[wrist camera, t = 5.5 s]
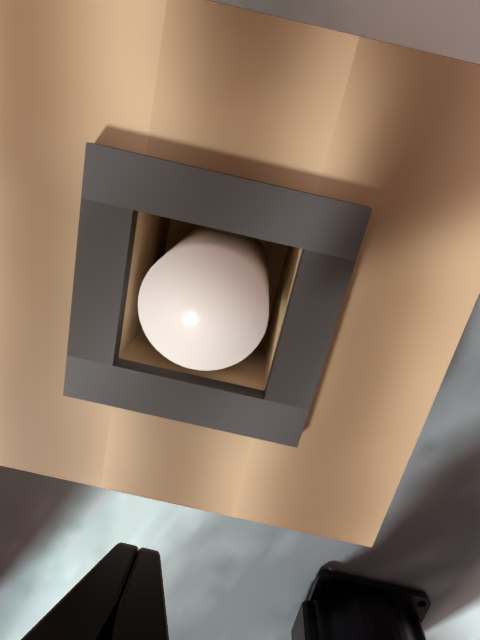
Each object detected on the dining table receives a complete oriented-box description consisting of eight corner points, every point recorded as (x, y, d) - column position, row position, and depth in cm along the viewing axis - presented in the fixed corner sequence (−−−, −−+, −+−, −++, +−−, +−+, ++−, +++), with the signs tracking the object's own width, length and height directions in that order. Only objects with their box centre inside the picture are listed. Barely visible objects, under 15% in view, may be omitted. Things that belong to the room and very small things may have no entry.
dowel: (279, 233, 18) (283, 262, 13) (256, 322, 19) (252, 383, 14) (183, 211, 18) (147, 231, 13) (167, 302, 19) (129, 355, 14)
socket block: (468, 111, 17) (582, 81, 11) (346, 450, 22) (375, 560, 16) (60, 15, 17) (-62, -72, 11) (36, 381, 22) (-55, 466, 16)
